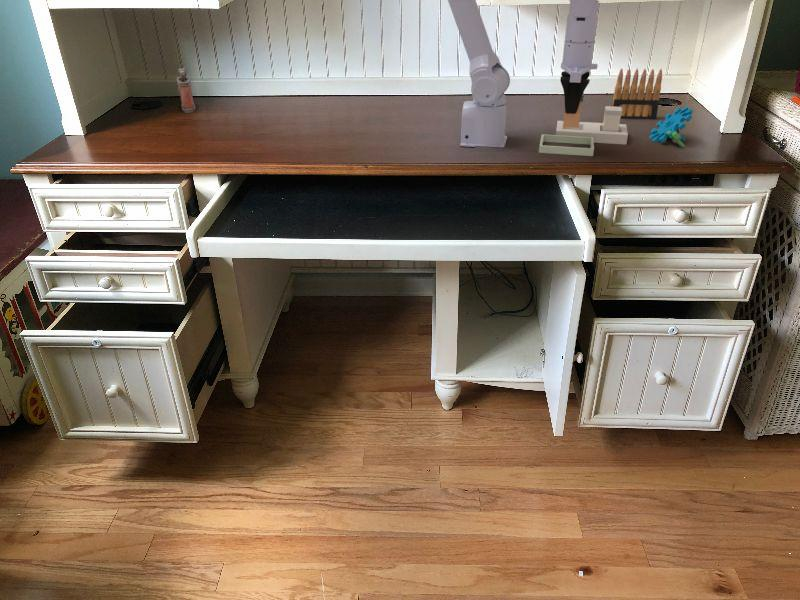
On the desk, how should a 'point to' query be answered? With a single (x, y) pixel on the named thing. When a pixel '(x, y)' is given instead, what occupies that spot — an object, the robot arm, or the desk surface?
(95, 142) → the desk surface
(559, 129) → the block
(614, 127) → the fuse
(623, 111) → the ammunition clip
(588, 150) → the parts tray
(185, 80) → the pink perfume bottle
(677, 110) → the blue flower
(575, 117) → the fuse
